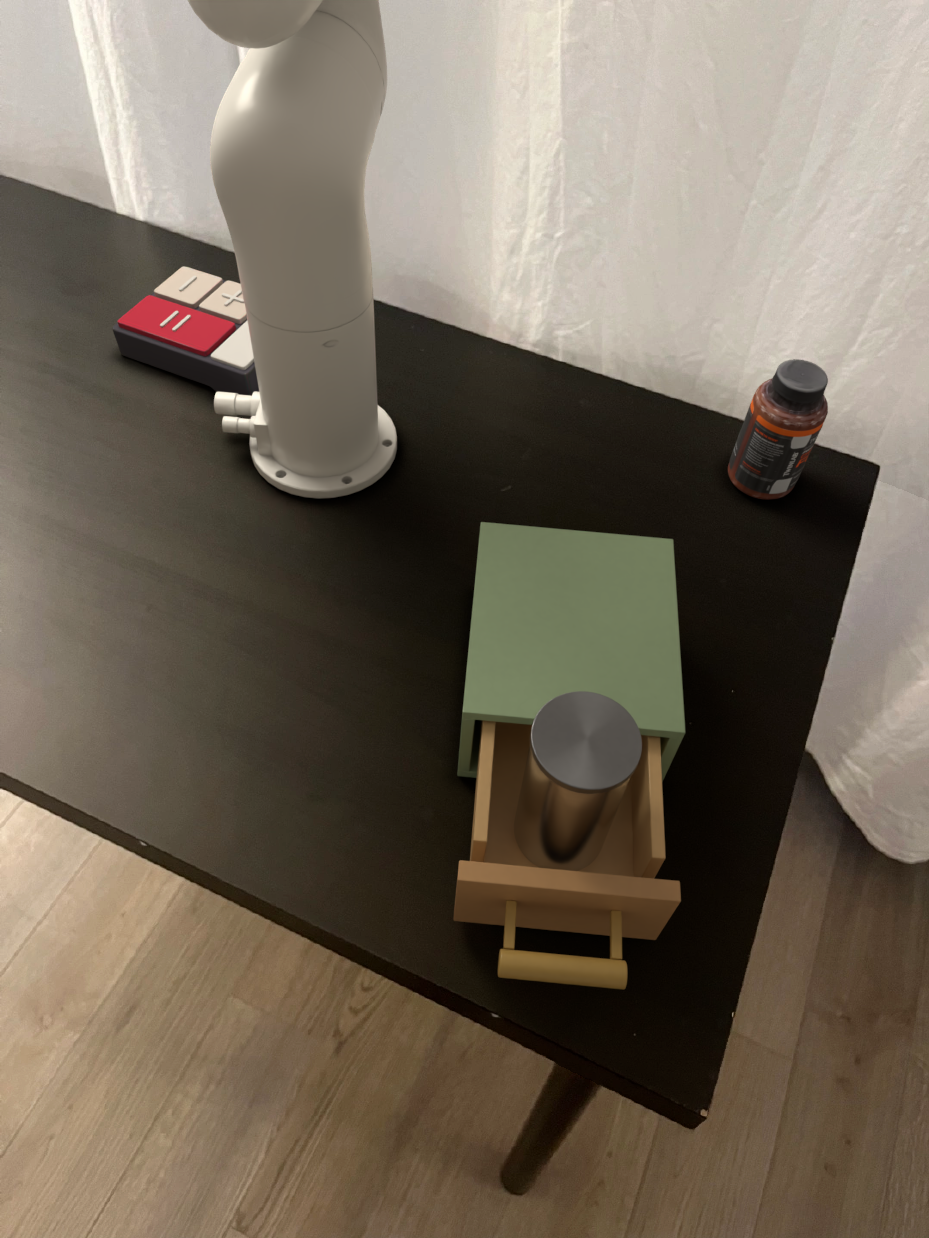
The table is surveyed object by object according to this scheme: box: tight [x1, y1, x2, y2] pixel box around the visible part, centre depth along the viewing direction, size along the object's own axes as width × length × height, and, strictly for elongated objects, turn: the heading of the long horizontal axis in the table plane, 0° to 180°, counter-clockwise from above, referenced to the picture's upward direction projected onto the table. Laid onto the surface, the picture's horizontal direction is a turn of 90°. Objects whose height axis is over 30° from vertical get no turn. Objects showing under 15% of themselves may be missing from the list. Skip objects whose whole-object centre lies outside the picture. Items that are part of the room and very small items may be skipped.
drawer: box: [453, 720, 682, 990], centre depth 58 cm, size 19×12×7 cm, turn 175°
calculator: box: [112, 266, 259, 396], centre depth 89 cm, size 11×4×15 cm
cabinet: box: [456, 521, 686, 783], centre depth 66 cm, size 16×14×9 cm
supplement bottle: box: [727, 358, 829, 501], centre depth 79 cm, size 6×6×11 cm
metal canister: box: [514, 691, 642, 871], centre depth 56 cm, size 6×6×12 cm
